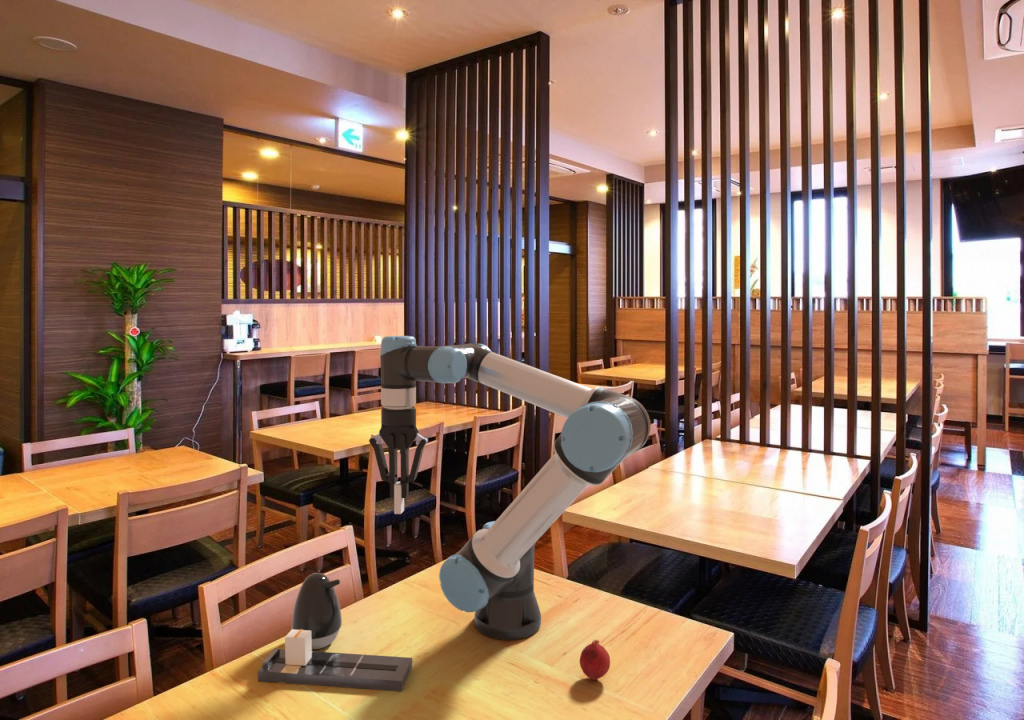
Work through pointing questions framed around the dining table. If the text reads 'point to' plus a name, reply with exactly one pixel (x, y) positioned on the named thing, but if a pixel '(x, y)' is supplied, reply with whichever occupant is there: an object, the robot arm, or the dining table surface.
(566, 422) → the robot arm
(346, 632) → the dining table surface
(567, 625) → the dining table surface
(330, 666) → the console
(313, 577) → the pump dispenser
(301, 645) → the fader knob
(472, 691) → the dining table surface
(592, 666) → the onion
